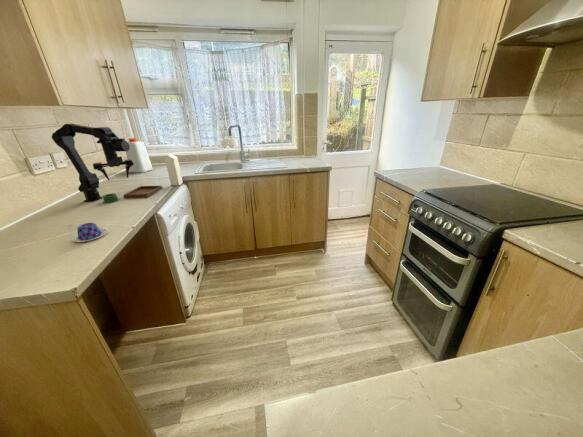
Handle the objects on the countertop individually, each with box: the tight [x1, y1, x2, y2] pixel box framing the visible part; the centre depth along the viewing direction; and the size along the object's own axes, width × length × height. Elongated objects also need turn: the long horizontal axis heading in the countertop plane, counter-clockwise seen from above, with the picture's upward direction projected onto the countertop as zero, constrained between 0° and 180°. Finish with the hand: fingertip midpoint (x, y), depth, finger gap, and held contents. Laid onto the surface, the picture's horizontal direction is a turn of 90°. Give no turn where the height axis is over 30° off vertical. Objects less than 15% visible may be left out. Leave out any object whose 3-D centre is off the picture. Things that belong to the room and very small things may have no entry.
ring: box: [102, 193, 119, 204], centre depth 144 cm, size 6×6×4 cm
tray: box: [122, 185, 163, 199], centre depth 157 cm, size 15×19×2 cm
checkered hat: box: [71, 222, 108, 243], centre depth 101 cm, size 12×12×5 cm
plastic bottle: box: [125, 137, 154, 174], centre depth 213 cm, size 15×15×28 cm
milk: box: [164, 152, 184, 187], centre depth 170 cm, size 6×6×22 cm
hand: (118, 179), depth 141 cm, fingers open, 9 cm apart
